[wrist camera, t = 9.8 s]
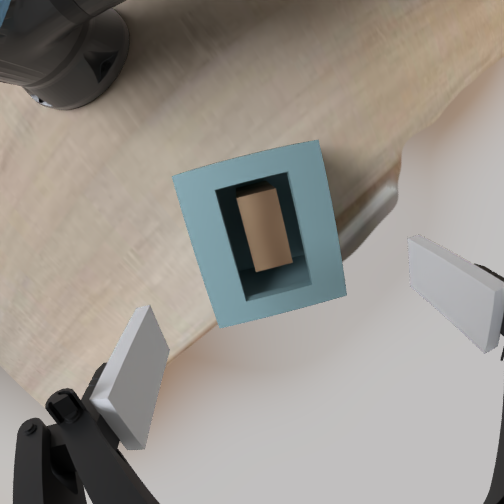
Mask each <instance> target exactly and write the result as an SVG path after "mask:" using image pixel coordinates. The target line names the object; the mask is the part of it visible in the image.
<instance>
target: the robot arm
mask: <svg viewBox="0 0 504 504" xmlns="http://www.w3.org/2000/svg"><path fill="white" fill-rule="evenodd" d="M124 1H126V0H0V82H3V83H9V84H14V85H18V86H22V87H23V88H24V89H25V91H26V92H27V93H28V94H29V95H30V96H31V97H32V98H33V99H34V100H35V101H36V102H38V103H39V104H41V105H43V106H46V107H49V108H54V109H59V110H68V109H74V108H78V107H81V106H83V105H85V104H87V103H89V102H91V101H93V100H94V99H96V98H97V97H98V96H100V95H101V94H102V93H103V92H104V91H105V90H106V89H107V88H108V87H109V86H110V85H111V84H112V83H113V81H114V80H115V79H116V77H117V76H118V74H119V73H120V71H121V69H122V67H123V65H124V63H125V60H126V57H127V54H128V50H129V31H128V28H127V25H126V23H125V21H124V20H123V18H122V17H121V16H120V15H119V14H118V13H117V12H116V11H115V10H114V9H113V8H112V7H114V6H116V5H118V4H120V3H122V2H124ZM407 239H408V253H409V272H410V287H411V288H413V289H414V290H415V291H416V292H417V293H419V294H420V295H421V296H422V297H423V298H424V299H425V300H426V301H428V302H429V303H430V304H431V305H432V306H433V307H435V308H436V309H437V310H438V311H439V312H440V313H441V314H443V315H444V316H445V317H446V318H447V319H448V320H449V321H450V322H451V323H452V324H454V325H455V326H456V327H457V328H458V329H459V330H460V331H461V332H462V333H463V334H464V335H465V336H466V337H468V338H469V339H470V340H471V341H472V342H473V343H474V344H475V345H476V346H477V347H478V348H479V349H480V350H481V351H482V352H483V353H487V352H489V351H490V350H492V349H494V348H495V347H497V346H498V341H499V337H500V333H501V334H502V335H503V336H504V278H503V277H502V276H500V275H498V274H497V273H495V272H492V271H491V270H490V269H488V268H486V267H485V266H481V265H478V264H472V263H471V262H469V261H467V260H466V259H464V258H462V257H460V256H458V255H457V254H455V253H453V252H451V251H450V250H448V249H446V248H444V247H442V246H440V245H438V244H436V243H435V242H433V241H431V240H429V239H427V238H425V237H423V236H421V235H416V236H413V237H409V238H407ZM169 351H170V349H169V347H168V345H167V343H166V341H165V338H164V336H163V334H162V332H161V329H160V327H159V325H158V322H157V320H156V318H155V315H154V313H153V311H152V308H151V306H150V305H147V306H143V307H139V308H136V310H135V312H134V313H133V315H132V317H131V319H130V321H129V322H128V324H127V326H126V328H125V330H124V332H123V334H122V336H121V337H120V339H119V341H118V343H117V345H116V347H115V349H114V351H113V353H112V355H111V357H110V359H109V361H108V362H107V363H103V364H102V365H101V366H100V367H99V368H98V369H97V370H96V372H95V374H94V376H93V377H92V380H91V381H90V383H89V387H87V389H86V391H85V393H84V395H83V397H82V399H81V400H80V399H79V397H78V396H77V394H76V393H75V392H74V391H73V390H72V389H69V388H66V389H61V390H59V391H57V392H55V393H54V394H53V395H51V396H50V398H49V399H48V400H47V402H46V410H47V411H48V412H49V414H50V415H51V416H52V417H53V419H54V420H55V421H56V423H57V424H53V425H50V426H46V425H45V424H44V423H43V422H42V421H41V420H40V419H39V418H32V419H29V420H27V421H25V422H24V423H23V424H22V425H21V427H20V428H19V431H18V434H17V443H16V453H15V464H14V481H13V504H87V502H86V497H85V492H84V487H85V489H86V491H87V493H88V495H89V497H90V499H91V501H92V503H93V504H159V502H158V501H157V500H156V499H155V497H153V495H152V494H151V493H150V491H149V490H148V489H147V488H146V486H145V485H144V484H143V482H142V481H141V480H140V478H139V477H138V476H137V474H136V473H135V472H134V470H133V469H132V467H131V466H130V465H129V463H128V462H127V460H126V459H125V458H124V456H123V455H122V453H121V452H120V451H119V450H118V449H117V448H118V444H119V441H121V442H122V444H123V445H124V446H125V448H126V449H127V450H140V449H145V446H146V442H147V438H148V433H149V429H150V425H151V421H152V416H153V412H154V408H155V404H156V400H157V396H158V393H159V388H160V385H161V381H162V377H163V373H164V370H165V366H166V362H167V358H168V355H169ZM503 358H504V348H503V352H502V356H501V361H502V360H503ZM83 485H84V486H83ZM484 504H504V396H503V412H502V421H501V430H500V439H499V445H498V452H497V458H496V464H495V468H494V473H493V478H492V483H491V487H490V490H489V493H488V495H487V498H486V500H485V502H484Z"/></svg>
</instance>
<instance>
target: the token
mask: <svg viewBox="0 0 504 504" xmlns="http://www.w3.org/2000/svg"><path fill="white" fill-rule="evenodd" d="M236 199H237V202H238V206H239V210H240V214H241V217H242V221H243V225H244V229H245V233H246V236H247V240H248V244H249V248H250V252H251V255H252V259H253V263H254V267H255V270H256V272H258V271H262V270H266V269H270V268H274V267H278V266H282V265H285V264H289V263H293V261H292V257H291V252H290V248H289V243H288V239H287V234H286V230H285V225H284V221H283V217H282V212H281V208H280V204H279V200H278V195H277V191H276V188H275V187H273V186H272V185H271V184H270V183H268V182H267V181H262V182H258V183H254V184H250V185H246V186H242V187H238V188H236Z"/></svg>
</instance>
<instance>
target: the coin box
mask: <svg viewBox="0 0 504 504" xmlns="http://www.w3.org/2000/svg"><path fill="white" fill-rule="evenodd" d="M172 179H173V182H174V186H175V189H176V193H177V196H178V200H179V203H180V207H181V210H182V213H183V217H184V220H185V223H186V227H187V230H188V233H189V236H190V240H191V243H192V246H193V249H194V253H195V256H196V259H197V262H198V265H199V268H200V271H201V274H202V277H203V281H204V284H205V287H206V290H207V293H208V296H209V299H210V302H211V304H212V307H213V310H214V313H215V316H216V319H217V322H218V325H219V328H223V327H228V326H232V325H236V324H241V323H245V322H249V321H253V320H257V319H261V318H265V317H269V316H273V315H277V314H281V313H284V312H288V311H292V310H296V309H300V308H304V307H307V306H311V305H314V304H318V303H322V302H325V301H329V300H332V299H336V298H339V297H343V296H346V295H347V293H346V285H345V278H344V272H343V264H342V258H341V252H340V245H339V239H338V234H337V228H336V222H335V217H334V211H333V206H332V201H331V196H330V191H329V186H328V181H327V176H326V171H325V167H324V162H323V158H322V153H321V149H320V145H319V140H314V141H308V142H303V143H297V144H292V145H287V146H283V147H278V148H274V149H270V150H265V151H261V152H257V153H253V154H249V155H245V156H241V157H237V158H233V159H229V160H225V161H221V162H218V163H214V164H210V165H207V166H203V167H200V168H196V169H193V170H190V171H186V172H183V173H180V174H177V175H174V176H172ZM262 181H267V182H268V183H270V184H271V185H272V186H273V187H275V188H276V191H277V195H278V200H279V204H280V208H281V212H282V217H283V221H284V225H285V230H286V234H287V239H288V243H289V248H290V252H291V257H292V261H293V263H289V264H285V265H282V266H278V267H274V268H270V269H266V270H262V271H258V272H256V270H255V267H254V263H253V259H252V255H251V252H250V248H249V244H248V240H247V236H246V233H245V229H244V225H243V221H242V217H241V214H240V210H239V206H238V202H237V199H236V188H238V187H242V186H246V185H250V184H254V183H258V182H262Z"/></svg>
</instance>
